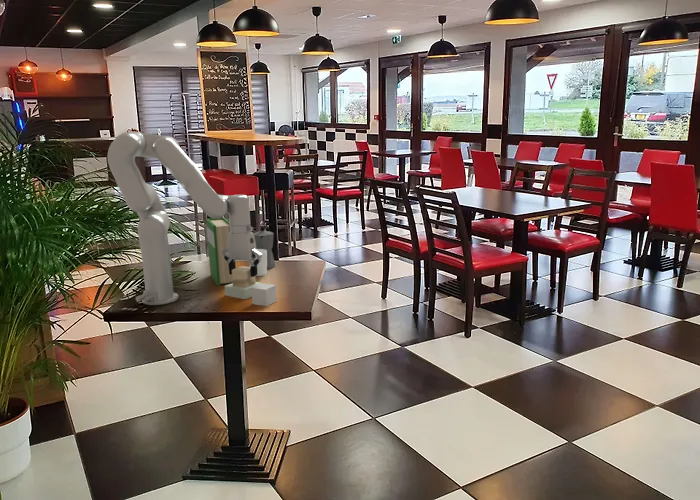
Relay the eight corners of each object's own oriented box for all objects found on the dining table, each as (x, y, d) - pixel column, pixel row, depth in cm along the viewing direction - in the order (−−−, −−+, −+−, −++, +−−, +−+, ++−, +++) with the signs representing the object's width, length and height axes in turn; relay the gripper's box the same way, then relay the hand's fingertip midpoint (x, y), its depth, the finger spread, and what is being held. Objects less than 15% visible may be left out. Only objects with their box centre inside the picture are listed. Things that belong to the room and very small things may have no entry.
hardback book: (236, 283, 225) (232, 223, 220) (217, 286, 222) (213, 225, 217) (228, 273, 241) (224, 217, 236) (210, 275, 238) (206, 218, 233)
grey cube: (266, 306, 197) (266, 289, 196) (252, 304, 200) (251, 287, 198) (276, 301, 202) (275, 285, 201) (262, 299, 205) (261, 283, 203)
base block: (245, 300, 205) (244, 289, 204) (225, 296, 210) (224, 286, 210) (263, 293, 213) (263, 283, 212) (244, 289, 218) (243, 279, 218)
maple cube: (246, 287, 207) (245, 271, 206) (232, 285, 209) (231, 269, 208) (255, 283, 212) (254, 267, 211) (242, 281, 215) (241, 266, 213)
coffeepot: (274, 270, 244) (272, 229, 240) (252, 271, 243) (250, 229, 239) (276, 261, 259) (274, 222, 255) (255, 262, 258) (253, 223, 254)
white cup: (251, 271, 242) (249, 249, 240) (269, 271, 242) (268, 248, 240) (247, 276, 235) (245, 253, 232) (266, 276, 234) (265, 253, 232)
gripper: (266, 228, 206) (268, 274, 210) (227, 225, 213) (230, 270, 217) (254, 232, 199) (256, 279, 203) (214, 229, 207) (218, 275, 210)
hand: (243, 274), depth 210 cm, fingers open, 9 cm apart
